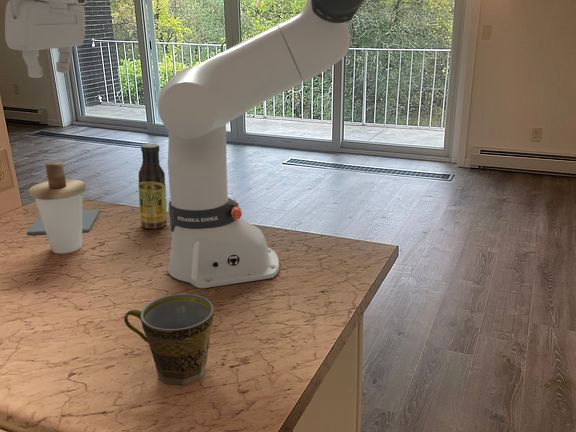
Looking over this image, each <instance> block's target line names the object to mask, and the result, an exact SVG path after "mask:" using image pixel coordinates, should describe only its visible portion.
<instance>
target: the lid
mask: <svg viewBox="0 0 576 432" xmlns="http://www.w3.org/2000/svg"><path fill="white" fill-rule="evenodd" d="M45 170H46V176H47V181H44V182H40V183H36V184H34V185H33V186H31V187H29V195H30V197H31V198H33V199H35V198H36V199H44V200H52V199H62V198H68V197H72V196H76V195H78V194H81V193H82V194H83V193H84V192H86V190H87V188H86V183H85V181H83V180H79V179H71V178H70V179H69V178H68V179H66V174H65V167H64V162H62V161H51V162H47V163H45Z"/></svg>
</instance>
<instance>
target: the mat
mask: <svg viewBox="0 0 576 432" xmlns="http://www.w3.org/2000/svg"><path fill="white" fill-rule="evenodd" d="M100 214H101V209H99V208H97V209H96V208H95V209H93V208H92V209H82V233H84V232H90V231H91V229H92V227H93V226H94V224H95V222H96V221H97V218H98V217H99V215H100ZM41 234H43V235H45V234H46V231H45V228H44V225H43V222H42V218H41V215H40V214H39V217H38V218H37V219H36V220H35V221H34V223H33V224H32V225H31V226H30V228H29V229H28V230H27V231H26V235H41ZM46 235H47V234H46Z"/></svg>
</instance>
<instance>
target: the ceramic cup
mask: <svg viewBox="0 0 576 432" xmlns="http://www.w3.org/2000/svg"><path fill="white" fill-rule="evenodd" d="M214 309H215V308H214V305H213V304H212V302H211V301H210V300H209V299H207V298H205V297H203V296H200V295H197V294H191V293H178V294H177V293H176V294H169V295H166V296H162V297H159V298H157V299H155V300H152V301H150V302H148V303H147V304H146V305H145V306H144V307H143V308H142V310H140V309H139V310H138V309H131V310H129V311H127V312H126V313H125V316H124V317H123V318H124V321H123V322H124V324H125V325H126V327H127V328H129V329H130V330H131V331H133V333H136V334H137V335H139V337H140V338H141V339H142V340H143V341H144V342H146V343H147V344H148V346H149V348H150V351H151V352H150V353H151V355H152V357H153V360H154V365H155V369H156V371H157V374H158V376H159V377H160V378H161V380H163V382H164V383H165V384H169V385H170V384H171V385H178V386H185V385H188V384H190V383H194V382H195V381H198V380H200V379H201V378H202V376H203V374H204V372H205V370H206V367H207V362H208V354H209V345H210V338H211V332H212V329H213V324H214V323H213V322H214V321H213V320H214ZM129 316H131V317H132V316H133V317H135V318H137V319H139V320H140V322H141V326H142V330H143V332H144V333H143V332H142V331H140V329H138V328H136V327H135V326H134V325H133V324H131V323H130V322H129V320H128V318H129Z"/></svg>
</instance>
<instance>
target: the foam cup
mask: <svg viewBox="0 0 576 432" xmlns="http://www.w3.org/2000/svg"><path fill="white" fill-rule="evenodd" d="M34 200H35V204H36V207H37V208H38V212H39V216H40V215H41V218H42V222H43V225H44V228H45V231H46V237H47V241H48V243H49V246H50V248H51V252H53V253H55V254H68V253H72V252H76V251H79V250H80V249H81V248H82V247H83V232H82V210H83V201H84V196H83V193H81V194H78V195H76V196H72V197H68V198H62V199H52V200H44V199H36V198H34Z"/></svg>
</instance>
